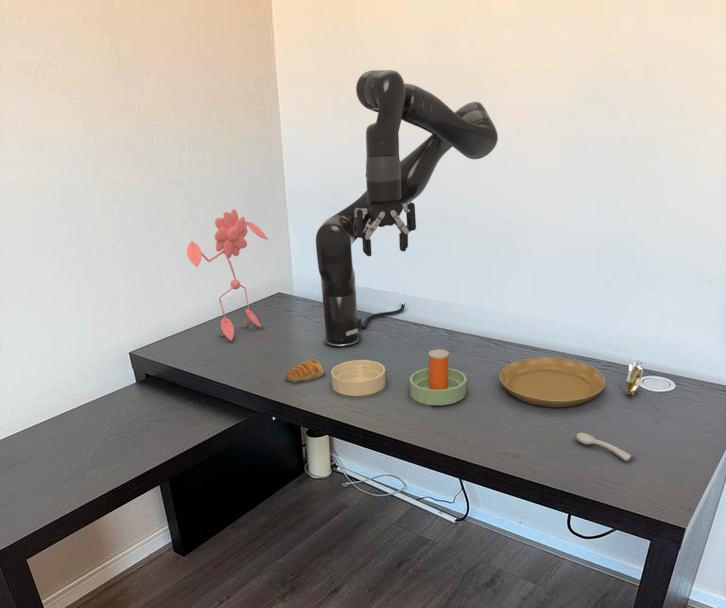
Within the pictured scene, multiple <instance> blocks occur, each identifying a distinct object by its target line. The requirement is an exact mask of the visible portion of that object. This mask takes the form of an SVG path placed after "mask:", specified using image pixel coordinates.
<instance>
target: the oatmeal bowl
mask: <svg viewBox="0 0 726 608" xmlns="http://www.w3.org/2000/svg"><path fill="white" fill-rule="evenodd" d="M386 376H387V375H386V367H385V366H384V364H382V363H380V362H378V361H374V360H369V359H353V360H348V361H344V362H341V363H338V364H336V365H335V366H333V368H331V371H330V378H331V388H332V390H333V392H336V393H337V394H340V395H342V396H349V397H364V396H370V395H373V394H377V393H379V392H380V391H382V390H383V389H385V387H386V385H387V379H386V378H387V377H386Z"/></svg>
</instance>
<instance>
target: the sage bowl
mask: <svg viewBox="0 0 726 608" xmlns="http://www.w3.org/2000/svg"><path fill="white" fill-rule="evenodd" d="M467 383H468V379H467V375H466V374H465V373H463V372H462V371H461V370H458V369H456V368H455V369H454V368H451V367H448V389H444V390H432V389H429V367H427V368H422V369H420V370H417V371H415V372H413V373H412V374H411V375H410V377H409V396H410V397H411V399H413V400H414V402H417V403H420V404H423V405H427V406H446V405H453V404H456V403H459V402H461V401H462V400H463V399H464V398H465V397H466V395H467V385H468V384H467Z"/></svg>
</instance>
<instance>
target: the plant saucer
mask: <svg viewBox="0 0 726 608" xmlns="http://www.w3.org/2000/svg"><path fill="white" fill-rule="evenodd" d="M498 377H499V381H500V383H501V385H502V386H503V388H504V389H505V390H506V391H507V392H508V393H509V394H510V395H511V396H512V397H514V398H516V399H518V400H519V401H522V402H524V403H526V404H530V405H534V406H536V407H537V406H538V407H545V408H569V407H575V406H580V405H582V404H585V403H587V402H589V401H592V400H593V399H595V398H596V397H598V395H599V394H601V392H602V391H603V390H604V388H605V387H606V384H607V382H606V381H607V380H606V377H605V376H604V375H603V374H602V372H601V371H600V370H598V369H597V368H595V367H593V366H592V365H590V364H587V363H584V362H581V361H577V360H574V359H569V358H563V357H554V356H552V357H551V356H541V357H540V356H539V357H528V358H523V359H519V360H515V361H512V362H511V363H508V364H507V365H504V367H503V368H502V369H501V370H500V371H499V376H498Z"/></svg>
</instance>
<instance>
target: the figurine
mask: <svg viewBox="0 0 726 608" xmlns="http://www.w3.org/2000/svg"><path fill="white" fill-rule="evenodd" d="M214 225H215V227H216V228H217V230H216V232H215V234H214V240H216V241H215V251H216V252H219V253H217V254H215V255H214V256H213V257H210V258H209V259H208V257H207V256H206V255H205V254H204V253H203V251H202V249H201V247H200V246H199V245H198V243H196V242H194V241H193V240H191V241H190V243H189V244H187V249H186V255H187V257H188V259H189V261H190V262H191V263H192V265H194V266H195V267H196V268H197V267H199V265H200V263H201V261H202V258H204V260H205V261H206V262H208V263H211V262H212V261H213V260H215V259H217V258H218V257H220V256H221V255H222V254H224V255H225V258H226V259H227V262H228V264H229V267H230V270H231V273H232V276H233V279H232V280H231V281H230V288H229V289H227V291H225V292H224V293H223V294H221V295H220V296H219V298H218V300H219V304H220V307H221V312H222V314H223V318H222V319H221V320H220V329H221V337H222V338H223V337H224V336H225V337H226V338H227V339H228V341H230V342H232V341H233V339H234V335H235V327H234V325H233V323H232V321H231V320H230V319H229V318H227V317H226V314H225V310H224V307H223V303H222V299H221V298H222V297H224V296H225V295H226V294H228V293H229V292H230V291H232V290H238V289H239V288H240V287H241V288H243V289H244V293H245V300H246V305H247V308H246V309H245V313H246V318H245V321H244V325H243V326H244V328H247V324H248V320H250V321H251V322H252V324H253V325H255V326H257V327H258V328H261V326H262V325H261V324H260V321H259V319H258V317H257V316H256V314H254V312H253V311H251V310H250V306H249V305H250V304H249V300H248V294H247V287H245V286H243V285H242V284H241V282H240V280H238V279H237V278H236V274H235V271H234V267H233V264H232V262H231V260H230V259H231V257H232V256H234V257H238V256H239V255H240V251H241V249H245V248H246V247H247V246H248V242H247V239H246V238H245V237H246V236H247V234H248V228H249V229H250V230H251V231H252V233H254V234H255V235H257V237H259V238H260V239H261V238H262V239H264V240H269V238H268V237H267V235H266V234H265V232H263V230H262V229H261V228H260V227H259V226H258V225H256V224H254V223H253V222H251V221H247V220H246V217H244V216H241V217H240V218H239V214H238V212H237V210H236V209H235V208H233V209H232V210H231V211H230V212H229V211H224V212H223V217H218V218H216V219H215V220H214ZM277 328H278V329H277V332H275V333H274V334H272V335H271V336H269V337H267V338H266V339H263V340H259V341H256V342H252V343H251V345H253V344H258V343H261V342H265V341H266V340H270V339H271V338H272V337H274V336H275V335H276V334H277V333H280V331H279V327H277ZM205 342H206V343H208V341H206V340H205Z"/></svg>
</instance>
